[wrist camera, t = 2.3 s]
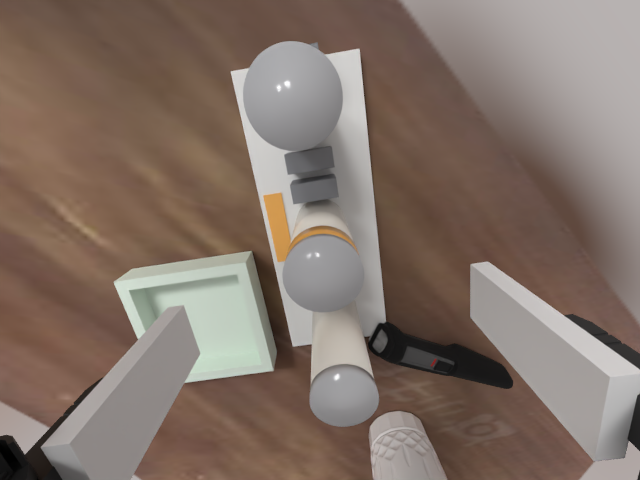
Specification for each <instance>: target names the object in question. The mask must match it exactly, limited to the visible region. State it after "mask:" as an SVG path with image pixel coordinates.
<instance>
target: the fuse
mask: <svg viewBox="0 0 640 480" xmlns="http://www.w3.org/2000/svg"><path fill="white" fill-rule="evenodd" d="M378 404H379V395H378V390H377V386H376V382H375V380H374V377H373V373H372V368H371V364H370V360H369V356H368V352H367V347H366V343H365V339H364V335H363V331H362V326H361V322H360V318H359V314H358V310H357V305H356V301H355V299H354V300H353V301H352V302H351V303H350V304H348V305H347V306H345V307H344V308H341V309H339V310H336V311H332V312H314V311H312V354H311V386H310V407H311V410H312V412H313V413H314V414H315V416H316V417H317V418H318V419H320V420H321V421H323V422H325V423H327V424H329V425H333V426H339V427H347V426H353V425H357V424H359V423H362V422H364V421H365V420H367V419H368V418H370V417H371V416H372V415H373V414H374V412H375V411H376V409H377V407H378Z"/></svg>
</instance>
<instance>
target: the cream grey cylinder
mask: <svg viewBox="0 0 640 480" xmlns="http://www.w3.org/2000/svg"><path fill="white" fill-rule="evenodd" d="M243 102H244V108H245V111H246V115H247V117H248V119H249V122H250V123H251V125H252V127H253V128H254V130H255V131H256V132H257V134H258V135H259V136H260V137H261V138H262V139H264V140H265V141H266V142H268V143H269V144H271V145H272V146H275V147H277V148H279V149H283V150H287V151H302V150H306V149H309V148H312V147H314V146H316V145H318V144H320V143H321V142H322V141H324V140H325V139H326V138H327V137H328V136H329V135H330V134H331V132H332V131H333V130H334V128H335V126H336V125H337V122H338V120H339V118H340V114H341V111H342V105H343V91H342V85H341V81H340V78H339V75H338V73H337V71H336V69H335V67H334V66H333V64H332V63H331V61H330V60H329V59H328V58H327V57H326V56H325V55H324V54H323V53H322V52H321V51H319V50H318V49H316V48H315V47H313V46H311V45H308V44H306V43H302V42H296V41H287V42H281V43H277V44H275V45H272V46H270V47H269V48H267V49H265V50H264V51H263V52H262V53H260V54H259V55H258V56H257V58H256V59H255V60H254V61H253V63H252V64H251V66H250V68H249V70H248V72H247V75H246V78H245V82H244V88H243Z"/></svg>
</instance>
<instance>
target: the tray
mask: <svg viewBox="0 0 640 480" xmlns="http://www.w3.org/2000/svg"><path fill="white" fill-rule="evenodd" d="M114 284H115V287H116V289H117V291H118V294H119V296H120V298H121V301H122V303H123V305H124V308H125V310H126V312H127V315H128V317H129V319H130V322H131V324H132V326H133V329H134V331H135V333H136V336H137V338H138V340H139V338H140V337H141V336H142V335H143V334H144V333H145V332H146V331H147V330H148V329H149V327H150V326H151V325H152V324H153V323H154V322H155V321H156V320H157V319H158V318H159V316H160V315H161V314H162V313H163V312H164V311H165V310H166V309H167V308H168V307H174V306H181V305H184V307H185V310H186V313H187V316H188V319H189V322H190V325H191V328H192V330H193V333H194V336H195V339H196V342H197V345H198V348H199V351H200V356H199V357H198V359H197V361H196V363H195V364H194V366H193V368H192V370H191V372H190V373H189V375H188V377H187V379H186V381H185V382H184V383H187V382H194V381H201V380H209V379H216V378H224V377H231V376H239V375H246V374H254V373H261V372H268V371H274V366H275V360H276V355H277V350H276V345H275V341H274V337H273V333H272V329H271V325H270V321H269V317H268V313H267V309H266V305H265V301H264V297H263V293H262V289H261V285H260V281H259V277H258V273H257V269H256V265H255V261H254V257H253V253H252V251H247V252H240V253H234V254H227V255H221V256H214V257H207V258H201V259H194V260H188V261H181V262H174V263H168V264H161V265H155V266H148V267H141V268H135V269H131V270H130V271H128V272H127V273H126V274H124V275H123V276H121V277H120V278H119V279H117V280H116V281H114Z"/></svg>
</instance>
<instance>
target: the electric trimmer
mask: <svg viewBox="0 0 640 480" xmlns="http://www.w3.org/2000/svg"><path fill="white" fill-rule="evenodd" d="M373 331H374V332H373V333H372V334H371V337H370V338H369V343H368V346H369V349H370V350H371V351H372V352H373V353H374V354H375V355H377V356H379V357H381V358H382V359H384V360H386V361H388V362H390V363H394V364H397V365H401V366H405V367H409V368H414V369H418V370H423V371H427V372H431V373H436V374H441V375H446V376H454V377H458V378H462V379H466V380H471V381H475V382H479V383H483V384H487V385H492V386H496V387H500V388H504V389H509V388H511V387H512V386H513V381H512V378H511V376H510V375H509V373H508V372H507V370H506V369H505V367H504V366H503V365H501V364H500V363H498V362H496V361H494V360H492V359H489V358H487V357H485V356H483V355H480V354H478V353H476V352H474V351H472V350H469V349H467V348H465V347H462V346H460V345H458V344H451V345H448V346H442V345H439V344H436V343H433V342H430V341H426V340H423V339H420V338H417V337H414V336H410V335H407V334H404V333H402V332H401V331H400V330H399V329H398V328H397V327H395V326H394V325H393V324H391V323H389V322H385V323H379V322H378V324H377V325H376V327H375V329H374V330H373Z"/></svg>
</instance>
